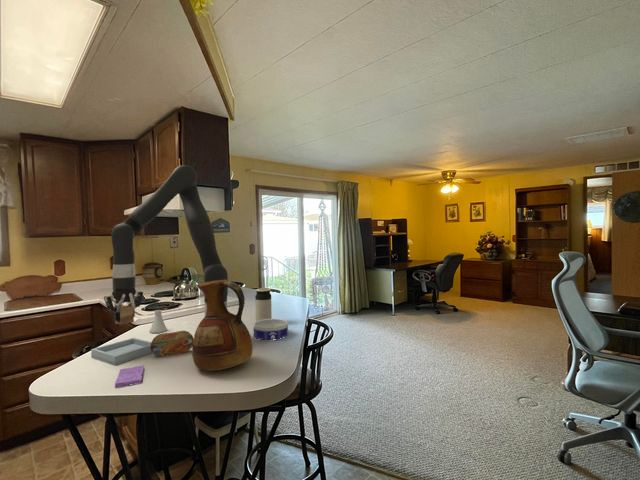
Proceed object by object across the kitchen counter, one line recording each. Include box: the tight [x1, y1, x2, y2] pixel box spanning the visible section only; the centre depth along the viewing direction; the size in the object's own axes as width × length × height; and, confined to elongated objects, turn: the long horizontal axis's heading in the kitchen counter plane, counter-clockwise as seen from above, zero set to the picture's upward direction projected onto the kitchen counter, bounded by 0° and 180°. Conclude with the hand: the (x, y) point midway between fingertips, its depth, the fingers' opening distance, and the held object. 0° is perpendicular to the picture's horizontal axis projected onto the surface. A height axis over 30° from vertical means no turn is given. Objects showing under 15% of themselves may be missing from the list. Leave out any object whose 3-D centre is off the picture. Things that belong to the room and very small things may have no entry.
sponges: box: [114, 364, 145, 389], centre depth 103 cm, size 7×13×2 cm, turn 26°
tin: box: [150, 330, 194, 358], centre depth 124 cm, size 15×3×8 cm, turn 117°
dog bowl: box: [253, 318, 289, 341], centre depth 146 cm, size 15×15×6 cm
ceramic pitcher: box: [191, 279, 254, 371], centre depth 112 cm, size 20×20×30 cm
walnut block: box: [114, 304, 135, 325], centre depth 124 cm, size 4×4×6 cm
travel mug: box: [254, 287, 273, 322], centre depth 165 cm, size 8×8×18 cm
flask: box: [149, 309, 168, 334], centre depth 154 cm, size 7×7×10 cm
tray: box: [90, 337, 153, 366], centre depth 124 cm, size 16×16×3 cm
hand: (124, 320), depth 124 cm, fingers closed on walnut block, 4 cm apart
